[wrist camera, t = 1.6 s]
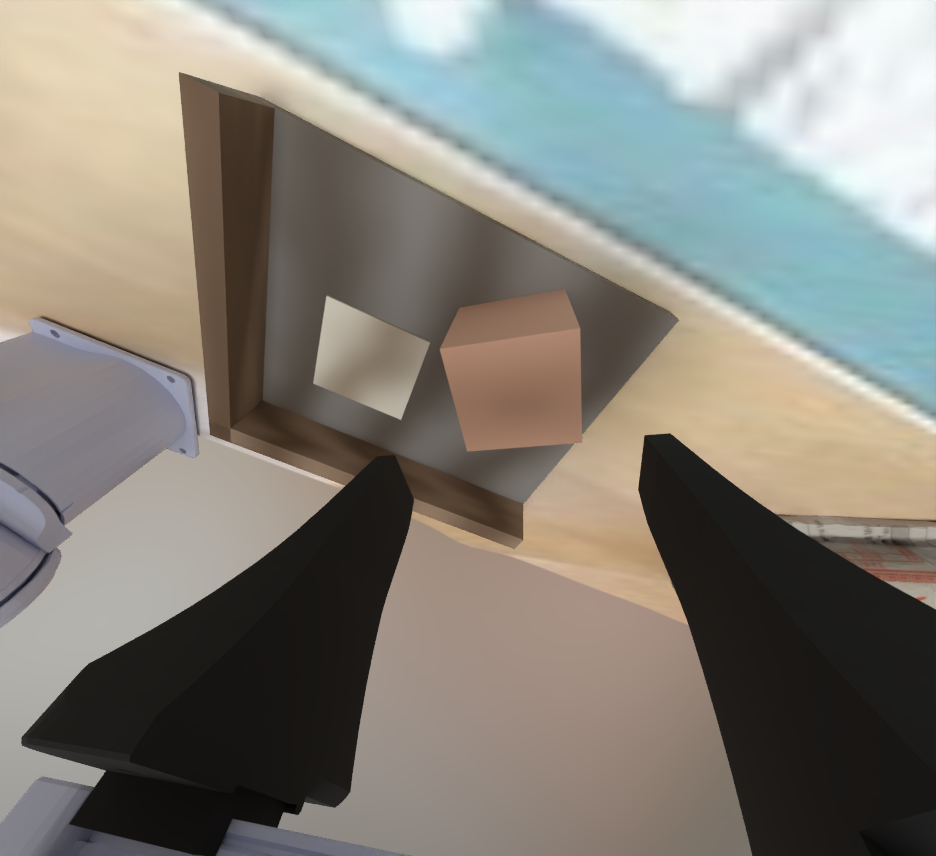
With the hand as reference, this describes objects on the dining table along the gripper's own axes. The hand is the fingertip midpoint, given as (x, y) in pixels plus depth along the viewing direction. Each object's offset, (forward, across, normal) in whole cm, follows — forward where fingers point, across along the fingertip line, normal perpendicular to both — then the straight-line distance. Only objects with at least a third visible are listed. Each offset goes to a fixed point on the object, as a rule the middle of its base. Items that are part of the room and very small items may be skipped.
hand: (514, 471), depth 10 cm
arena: (+10, +5, +1) cm, 11 cm away
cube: (+9, 0, 0) cm, 9 cm away
